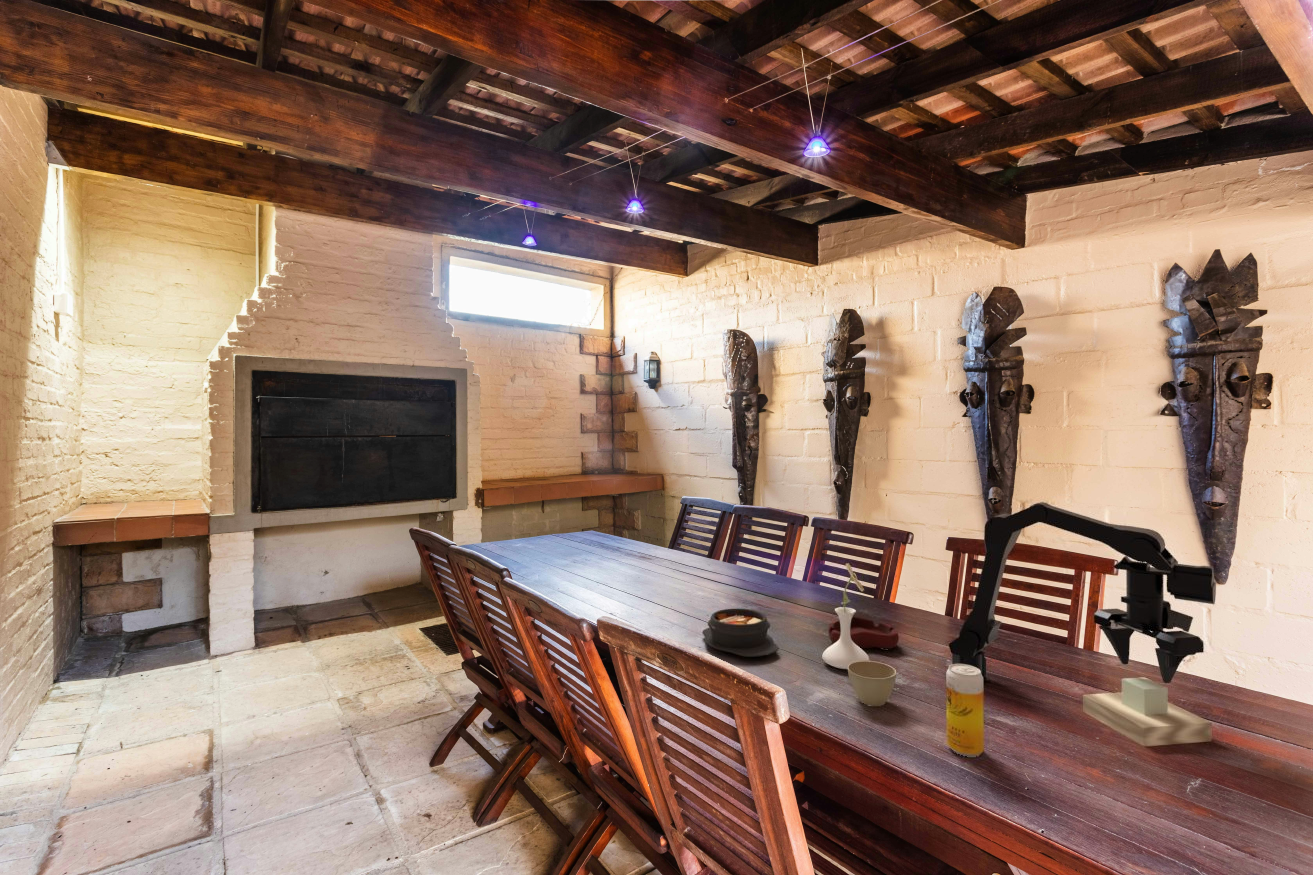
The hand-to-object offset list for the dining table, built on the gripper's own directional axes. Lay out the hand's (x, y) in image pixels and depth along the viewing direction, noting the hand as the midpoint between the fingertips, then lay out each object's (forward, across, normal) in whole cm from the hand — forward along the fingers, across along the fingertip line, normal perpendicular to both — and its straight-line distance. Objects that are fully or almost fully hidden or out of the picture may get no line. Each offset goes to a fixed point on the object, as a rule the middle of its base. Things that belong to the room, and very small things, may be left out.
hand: (1145, 672), depth 120 cm
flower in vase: (+10, +38, +45) cm, 60 cm away
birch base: (+11, 0, 0) cm, 11 cm away
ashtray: (+11, +52, +35) cm, 64 cm away
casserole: (+10, +54, +69) cm, 88 cm away
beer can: (+11, -4, +40) cm, 42 cm away
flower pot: (+10, +17, +48) cm, 52 cm away
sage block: (+7, 0, 0) cm, 7 cm away
